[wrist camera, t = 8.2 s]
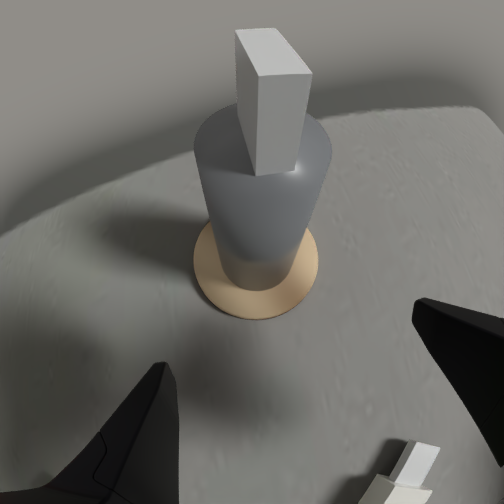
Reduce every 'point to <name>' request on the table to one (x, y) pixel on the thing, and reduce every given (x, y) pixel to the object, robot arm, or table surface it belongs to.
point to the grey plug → (262, 162)
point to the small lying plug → (404, 478)
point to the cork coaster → (253, 302)
